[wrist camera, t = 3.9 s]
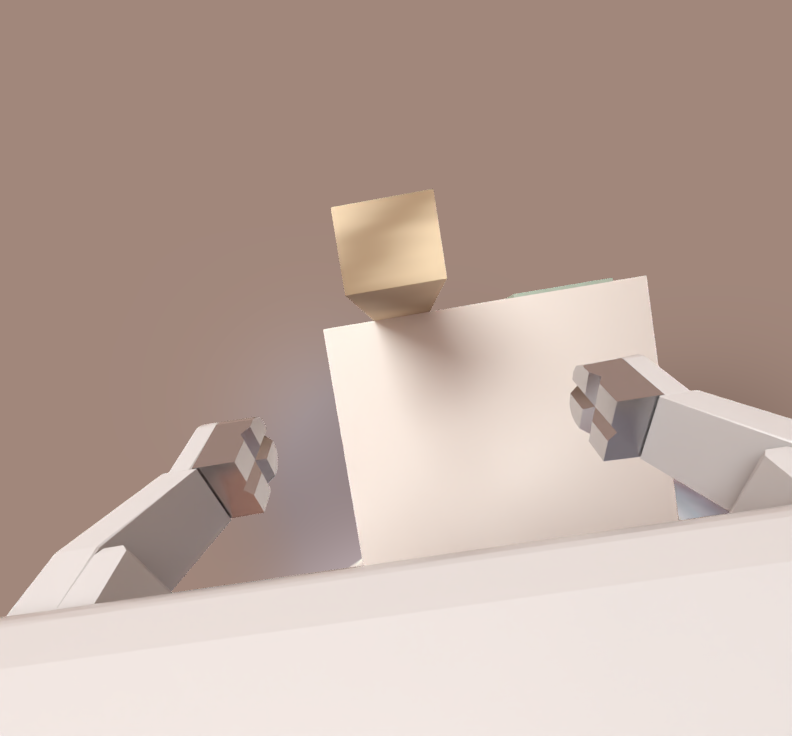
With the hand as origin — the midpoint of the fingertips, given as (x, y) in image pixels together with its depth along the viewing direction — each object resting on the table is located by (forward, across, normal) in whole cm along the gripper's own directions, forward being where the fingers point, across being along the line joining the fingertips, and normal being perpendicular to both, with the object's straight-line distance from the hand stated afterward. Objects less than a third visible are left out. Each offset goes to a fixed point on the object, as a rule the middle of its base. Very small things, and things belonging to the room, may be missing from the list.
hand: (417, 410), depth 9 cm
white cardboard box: (+6, -5, +29) cm, 30 cm away
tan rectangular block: (+15, 0, +4) cm, 15 cm away
